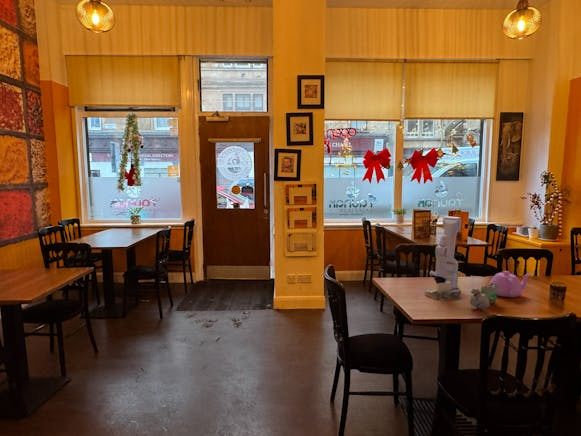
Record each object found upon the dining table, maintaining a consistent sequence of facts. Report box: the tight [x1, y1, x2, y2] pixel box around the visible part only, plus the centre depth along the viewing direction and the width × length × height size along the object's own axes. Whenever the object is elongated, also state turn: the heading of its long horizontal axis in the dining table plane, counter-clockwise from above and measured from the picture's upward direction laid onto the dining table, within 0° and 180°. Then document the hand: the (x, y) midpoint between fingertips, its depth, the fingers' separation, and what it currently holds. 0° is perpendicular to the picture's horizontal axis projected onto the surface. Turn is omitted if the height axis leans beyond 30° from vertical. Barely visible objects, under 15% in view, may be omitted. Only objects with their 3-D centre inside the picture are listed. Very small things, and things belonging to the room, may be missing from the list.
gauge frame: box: [424, 288, 462, 302], centre depth 220 cm, size 16×14×4 cm
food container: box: [480, 283, 499, 306], centre depth 207 cm, size 12×6×10 cm, turn 129°
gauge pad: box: [432, 282, 452, 294], centre depth 219 cm, size 14×2×7 cm, turn 117°
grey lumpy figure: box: [469, 287, 491, 310], centre depth 196 cm, size 10×10×12 cm
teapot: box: [488, 270, 532, 298], centre depth 223 cm, size 22×22×14 cm
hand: (439, 289), depth 223 cm, fingers closed
